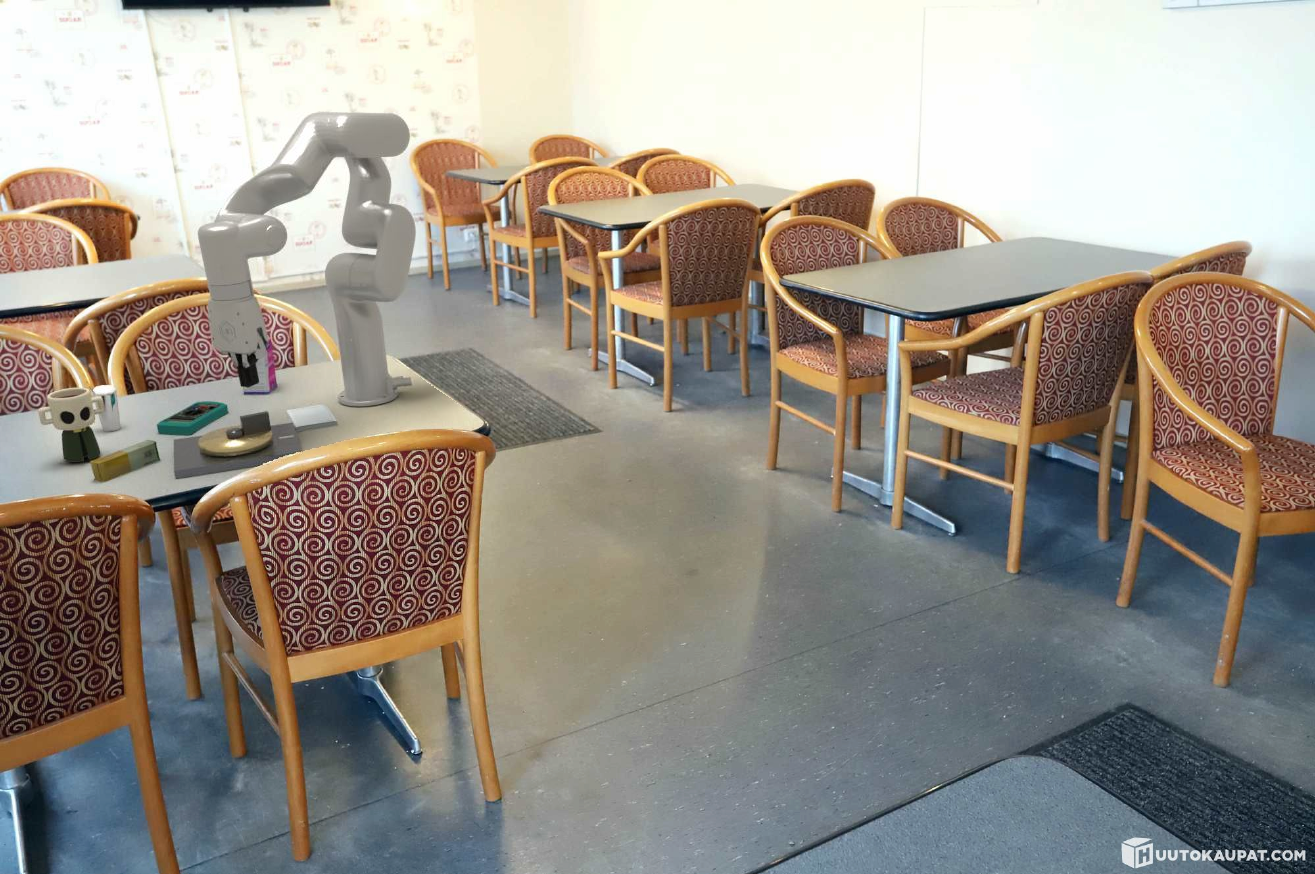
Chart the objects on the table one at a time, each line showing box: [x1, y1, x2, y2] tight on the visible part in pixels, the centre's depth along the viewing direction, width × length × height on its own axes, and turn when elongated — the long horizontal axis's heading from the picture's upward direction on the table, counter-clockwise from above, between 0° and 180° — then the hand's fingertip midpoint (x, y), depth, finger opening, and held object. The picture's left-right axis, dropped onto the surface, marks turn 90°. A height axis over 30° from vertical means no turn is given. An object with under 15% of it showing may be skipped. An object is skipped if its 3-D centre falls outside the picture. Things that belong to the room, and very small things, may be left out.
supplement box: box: [242, 338, 278, 396], centre depth 236 cm, size 6×6×12 cm
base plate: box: [173, 422, 303, 480], centre depth 201 cm, size 22×18×2 cm
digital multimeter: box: [156, 400, 229, 436], centre depth 218 cm, size 7×15×3 cm, turn 170°
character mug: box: [38, 387, 105, 463], centre depth 198 cm, size 11×7×13 cm, turn 131°
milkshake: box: [88, 384, 122, 432], centre depth 213 cm, size 4×5×10 cm
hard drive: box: [285, 404, 338, 433], centre depth 218 cm, size 2×8×12 cm
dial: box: [198, 410, 273, 456], centre depth 200 cm, size 13×13×5 cm
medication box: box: [89, 439, 161, 483], centre depth 193 cm, size 12×3×4 cm, turn 151°
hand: (250, 384), depth 202 cm, fingers closed
